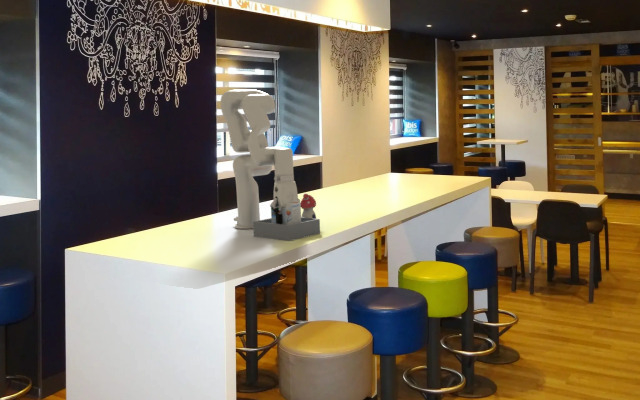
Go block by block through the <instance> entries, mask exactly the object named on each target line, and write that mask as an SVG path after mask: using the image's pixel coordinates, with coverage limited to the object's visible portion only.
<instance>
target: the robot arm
mask: <svg viewBox="0 0 640 400" xmlns="http://www.w3.org/2000/svg"><path fill="white" fill-rule="evenodd" d="M275 108H276V103H275V99H274V98H273V97H272V96H271V95H270V94H269V93H266V92H264V91H261V90H257V89H231V90H227V91H225V92H223V93H222V95H221V97H220V110H221V113H222V115H223V117H224V120H225V121H226V122H225V123H226V126H227V131H228V135H229V138H230V139H229V140H230V144H231V147H232V149H233V151H234V152H235V153H239V154H241V153H242V154H241V155H238V156H236V157H235V159H233V162H232V170H233V174H234V179H235V187H236V188H235V189H236V203H237V205H236V206H237V216H236V217H234V218H233V221H234V222H237V223H235V225H234V227H235V229H240V230H244V229H245V230H246V229H248V230H250V229H251V230H252V229H254V226H253V222H254V221H259V220H261V218H260V217H261V214H260V213H261V212H260V197H259V195H260V193H259V185H258V182H257V181H256V180H255V179H254V177H258V176H266V175H269V174H271V172H272V169H273V167H274V177H273V181H274V185H273V201H272V202H271V203H270V204H269V207H270V209H271V208H272V210H273V211H274V213H275V214H276V223H277V224H282V223H283V219H282V214H281V212H282V209H283V208H285V207H286V204H290V203H295V202H300V203H301V199H300V198H299V195H298V187H297V184H296V181H295V175H294V156H293V155H294V154H293V149H292V148H290V147H282V146H269V143H268V140H267V139H268V138H267V137H266V135H265V133H266V132H267V131H268V130H270V128H271V125H272V124H271V121H270V119H269V116H268V115H269V114H273V112H275ZM239 110H242V111H243V114H244V115H245V117H244V115H243V114H242V113H241V112H240V111H239ZM249 127H250V129H249ZM243 153H246V154H243ZM247 153H249V154H247ZM276 204H277V205H276ZM278 204H279V206H278ZM278 208H279V210H278Z"/></svg>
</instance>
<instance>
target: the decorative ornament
mask: <svg viewBox="0 0 640 400" xmlns="http://www.w3.org/2000/svg"><path fill="white" fill-rule="evenodd" d="M300 203H301V210H302V212H301V217H305V218H315V219H317V216H316V213H315V210H314V208H316V207H317V201H316V199H315V198H314V197H313V196H312V195H310V194H309V193H303V195H302V199H300Z"/></svg>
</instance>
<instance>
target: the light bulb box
mask: <svg viewBox="0 0 640 400" xmlns="http://www.w3.org/2000/svg"><path fill="white" fill-rule="evenodd" d="M276 205H277V204H276ZM278 206H279V204H278ZM278 210H279V208H278ZM270 214H271V217H270V218H271V220H272V223H273V224H277V223H276V214H275V213H274V211H273V210H272V208H271V207H270ZM281 214H282V219H283V223H282V225H292V224H296V223H301V217H302V208H301V201H300V202H295V203H290V204H286V207H285V208H283V209H282V212H281Z"/></svg>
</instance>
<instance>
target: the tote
mask: <svg viewBox="0 0 640 400" xmlns="http://www.w3.org/2000/svg"><path fill="white" fill-rule="evenodd" d="M253 226H254V228H253V237H255V238H256V237H258V238H263V239H264V238H265V239H274V240H278V241H288V242H290V241H294V240H299V239H303V238H306V237H307V238H308V237H311V236H316V235H320V234H321V219H320V218H316V219H315V218H305V217H302V216H301V223H296V224H292V225H282V224H273V223H272V220H271V217H270V218H266V219H260V220H259V221H254V222H253Z"/></svg>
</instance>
